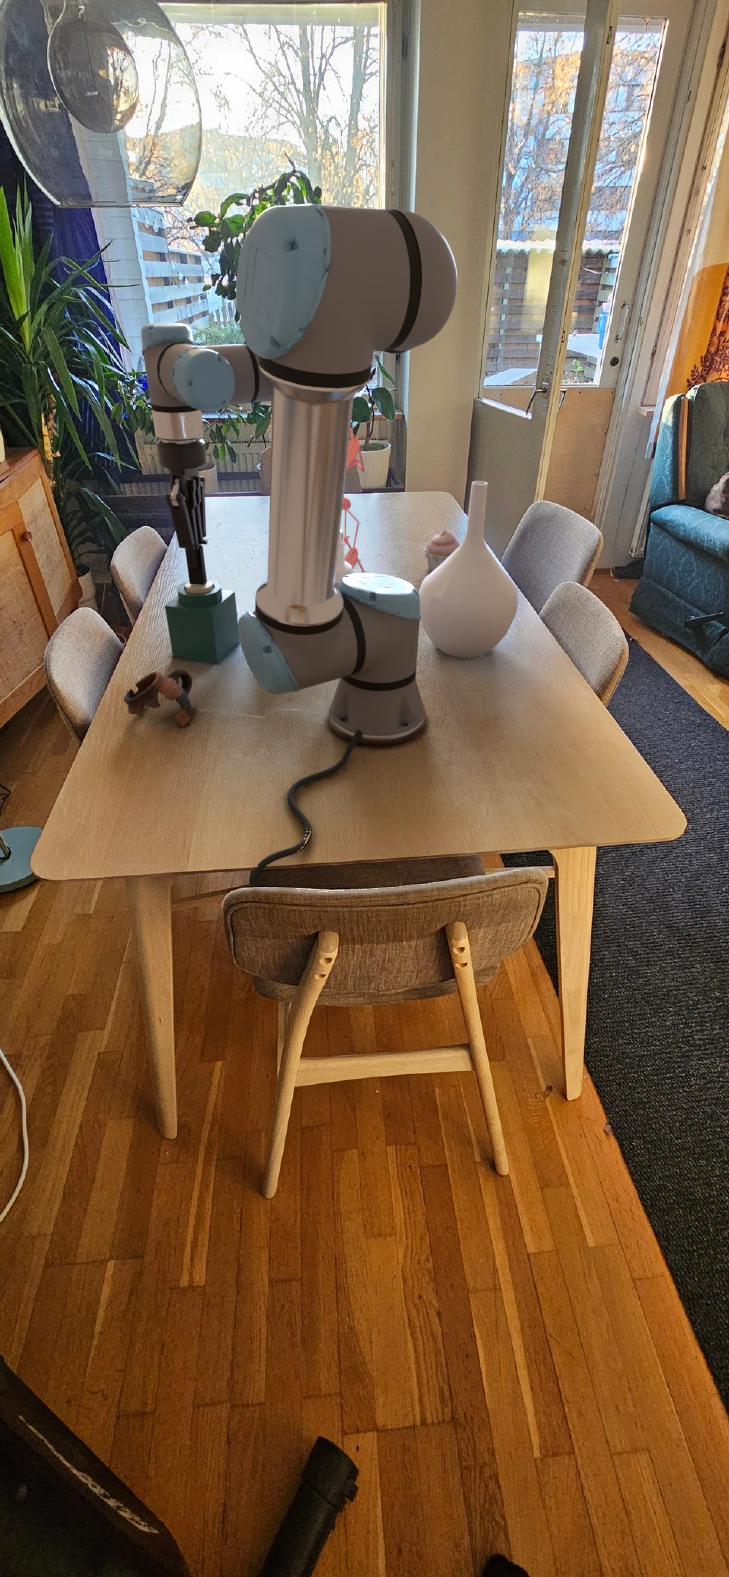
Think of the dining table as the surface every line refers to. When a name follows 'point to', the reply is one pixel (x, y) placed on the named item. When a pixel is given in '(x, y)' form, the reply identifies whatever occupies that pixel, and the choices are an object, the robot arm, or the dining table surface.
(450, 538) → the cupcake
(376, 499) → the dining table surface
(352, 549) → the figurine
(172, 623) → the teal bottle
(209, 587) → the beige cylinder
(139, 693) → the brown jagged looped figure
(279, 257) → the robot arm
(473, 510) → the vase
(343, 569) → the white bottle
